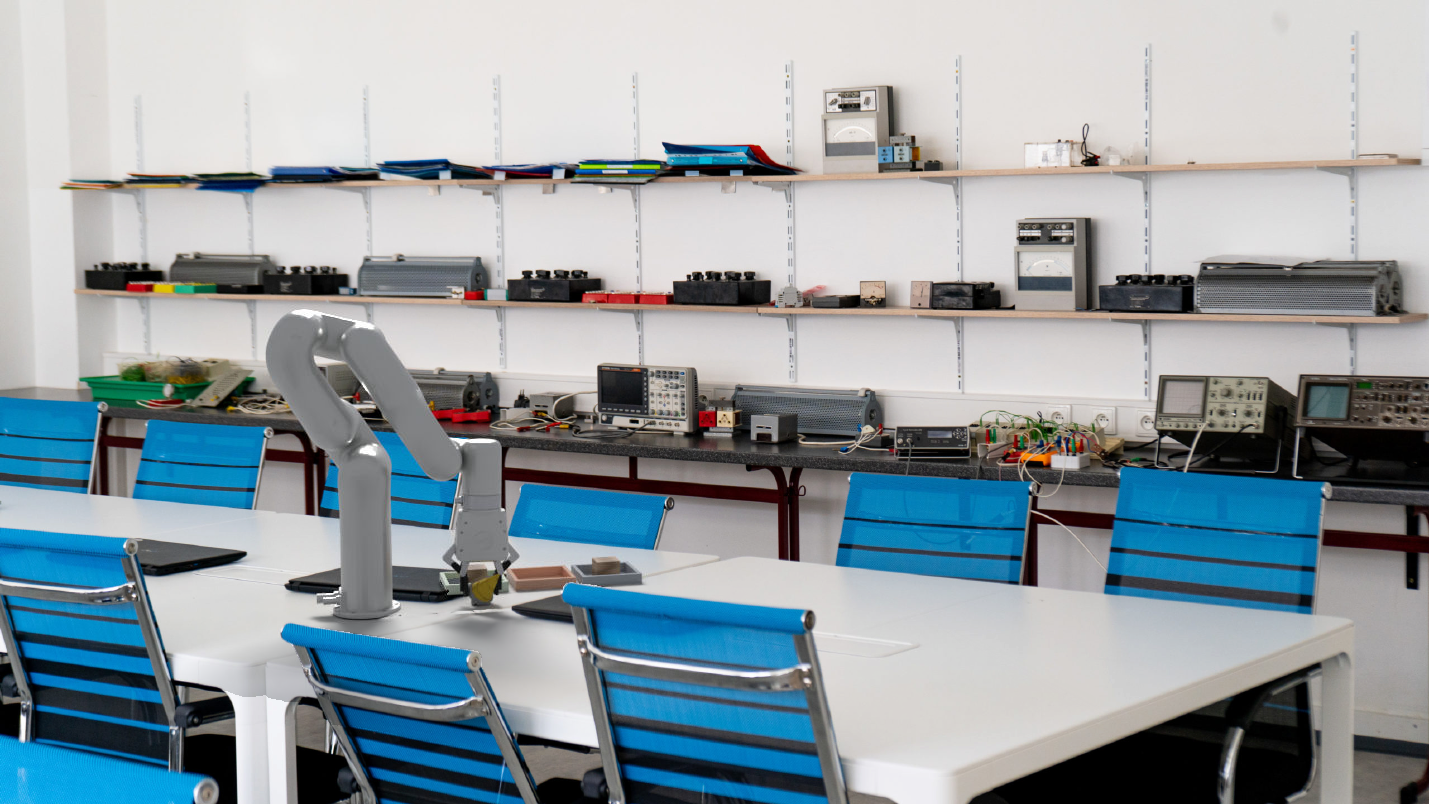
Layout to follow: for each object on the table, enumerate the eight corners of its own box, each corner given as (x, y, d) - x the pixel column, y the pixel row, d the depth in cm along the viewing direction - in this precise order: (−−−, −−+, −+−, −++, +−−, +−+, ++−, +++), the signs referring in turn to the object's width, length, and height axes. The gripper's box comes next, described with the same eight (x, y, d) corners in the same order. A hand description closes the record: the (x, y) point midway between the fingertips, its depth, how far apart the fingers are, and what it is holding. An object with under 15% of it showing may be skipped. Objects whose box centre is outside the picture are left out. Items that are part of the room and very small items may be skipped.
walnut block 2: (597, 581, 279) (596, 562, 278) (592, 576, 283) (591, 557, 283) (620, 579, 280) (620, 561, 280) (614, 574, 285) (614, 556, 284)
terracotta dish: (515, 593, 270) (515, 581, 270) (506, 580, 282) (506, 568, 282) (576, 589, 273) (576, 577, 273) (564, 576, 285) (564, 565, 285)
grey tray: (582, 588, 274) (582, 577, 274) (571, 576, 286) (571, 564, 286) (641, 585, 278) (641, 573, 277) (627, 572, 290) (627, 561, 289)
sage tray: (446, 597, 266) (445, 585, 265) (439, 584, 278) (439, 572, 277) (508, 593, 269) (508, 581, 269) (499, 580, 281) (499, 569, 281)
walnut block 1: (462, 589, 270) (462, 570, 270) (460, 584, 275) (459, 565, 275) (487, 587, 272) (487, 568, 271) (484, 582, 277) (484, 563, 276)
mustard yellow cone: (485, 602, 263) (513, 572, 258) (478, 619, 258) (507, 589, 254) (463, 587, 261) (491, 557, 257) (456, 603, 257) (484, 574, 252)
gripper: (438, 506, 250) (438, 601, 252) (528, 504, 255) (527, 596, 257) (435, 500, 257) (434, 592, 259) (522, 498, 263) (521, 588, 264)
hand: (480, 593), depth 258 cm, fingers closed on mustard yellow cone, 5 cm apart
